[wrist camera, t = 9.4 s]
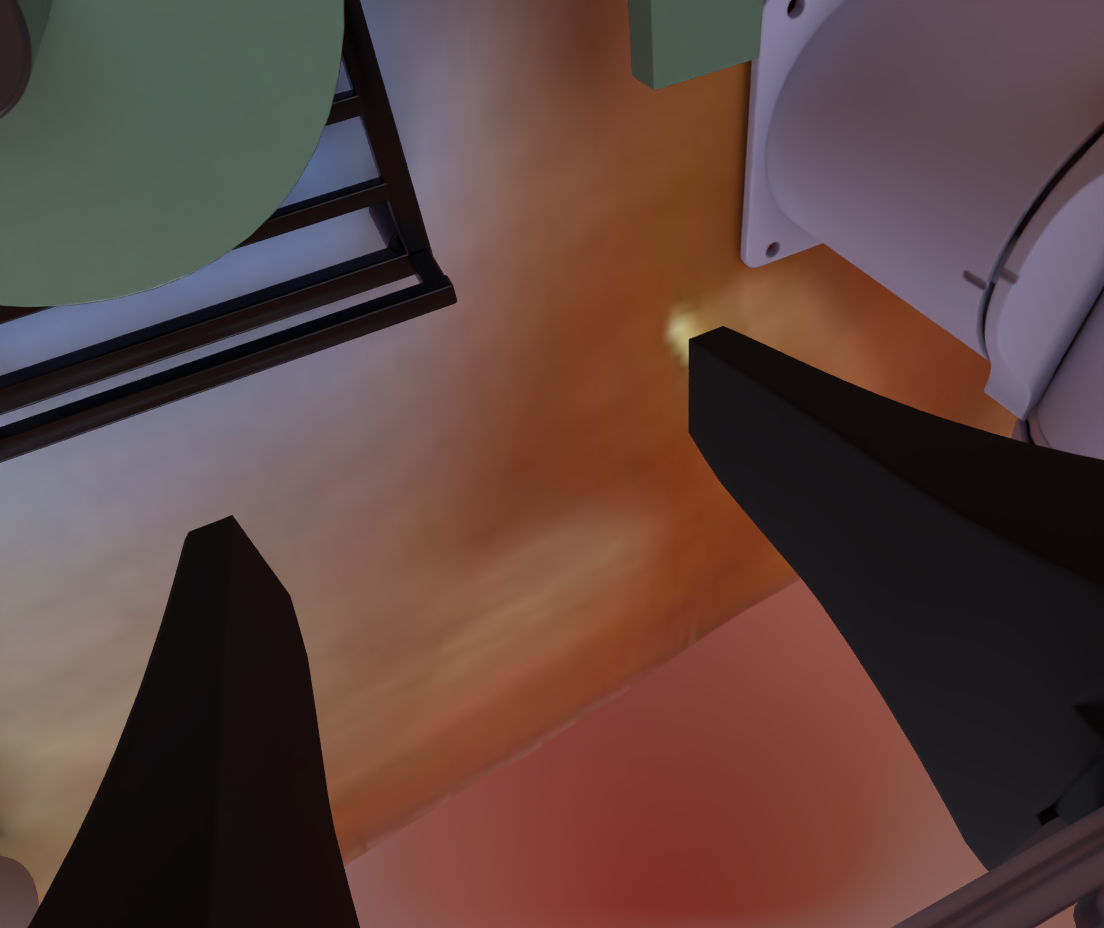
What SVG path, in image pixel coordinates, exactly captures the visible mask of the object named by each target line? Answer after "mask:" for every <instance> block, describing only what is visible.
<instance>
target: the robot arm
mask: <svg viewBox="0 0 1104 928" xmlns="http://www.w3.org/2000/svg"><path fill="white" fill-rule="evenodd" d="M790 1H791V0H763V9H762V24H761V40H760V55H759V57H758V58H756V59H753V60H752V66H751V83H750V100H749V117H748V134H747V151H746V168H745V185H744V202H743V220H742V237H741V254H740V255H741V260H742V261H743V262H744V263H745V264H746V265H747V266H749V267H751V268H756V267H760V266H762V265H765V264H768V263H771V262H773V261H776V260H779V259H781V258H784V257H787V256H790V255H792V254H795V253H798V252H800V251H803V250H806V249H808V248H811V247H814V246H817V245H819V244H822V243H824V244H825V245H827V246H828V247H830V248H831V249H832V250H834V251H835V252H837V253H838V254H839V255H841V256H842V257H844V258H845V259H846V260H848V261H849V262H851V263H852V264H853V265H855V266H856V267H858V268H859V269H860V270H862V271H863V272H865V273H866V274H867V275H869V276H870V277H872V278H873V279H874V280H876V281H877V282H879V283H880V284H881V285H883V286H884V287H886V288H887V289H888V290H890V291H891V292H893V293H894V294H895V295H897V296H898V297H900V298H901V299H903V300H904V301H905V302H907V303H908V304H910V305H911V306H912V307H914V308H915V309H917V310H918V311H919V312H921V313H922V314H924V315H925V316H926V317H928V318H929V319H931V320H932V321H933V322H935V323H936V324H938V325H939V326H940V327H942V328H943V329H945V330H946V331H947V332H949V333H950V334H952V335H953V336H954V337H956V338H957V339H959V340H960V341H961V342H963V343H964V344H966V345H967V346H969V347H970V348H971V349H973V350H974V351H976V352H977V353H978V354H980V355H981V356H983V357H984V358H985V359H987V360H988V361H990V362H991V372H990V376H989V379H988V381H987V384H986V386H985V389H984V392H985V393H986V394H988V395H989V396H990V397H992V398H993V399H994V400H996V401H997V402H998V403H1000V404H1001V405H1002V406H1003V407H1005V408H1006V409H1007V410H1009V411H1010V412H1011V413H1013V414H1014V415H1015V416H1017V417H1018V420H1017V421H1016V423H1015V426H1014V429H1013V433H1012V437H1011V438H1007V437H1004V436H1000V435H996V434H993V433H990V432H986V431H983V430H980V429H976V428H973V427H970V426H967V425H963V424H960V423H957V422H953V421H950V420H947V419H944V418H941V417H938V416H935V415H932V414H929V413H926V412H923V411H920V410H918V409H915V408H912V407H910V406H907V405H904V404H902V403H899V402H896V401H894V400H891V399H889V398H886V397H883V396H881V395H878V394H876V393H873V392H871V391H868V390H866V389H863V388H861V387H858V386H856V385H854V384H851V383H849V382H847V381H844V380H842V379H840V378H837V377H835V376H833V375H830V374H828V373H826V372H824V371H821V370H819V369H817V368H815V367H812V366H810V365H808V364H806V363H804V362H801V361H799V360H797V359H795V358H793V357H791V356H788V355H786V354H784V353H782V352H780V351H778V350H775V349H773V348H771V347H769V346H767V345H765V344H762V343H760V342H758V341H756V340H754V339H752V338H749V337H747V336H745V335H743V334H740V333H738V332H736V331H734V330H731V329H729V328H727V327H724V326H722V327H719V328H717V329H714V330H712V331H709V332H706V333H704V334H701V335H699V336H696V337H693V338H691V339H689V434H690V435H691V437H692V439H693V440H694V442H695V443H696V445H697V447H698V448H699V450H700V452H701V453H702V455H703V456H704V458H705V460H706V461H707V463H708V464H709V466H710V467H711V469H712V470H713V472H714V473H715V475H716V476H717V478H718V480H719V481H720V482H721V484H722V485H723V486H724V487H725V488H726V490H727V491H728V492H729V493H730V495H731V496H732V497H733V498H734V499H735V501H736V502H737V503H738V504H739V505H740V507H741V508H742V509H743V510H744V511H745V513H746V514H747V515H748V516H749V517H750V518H751V520H752V521H753V522H754V523H755V524H756V526H757V527H758V528H759V529H760V530H761V531H762V533H763V534H764V535H765V536H766V537H767V539H768V540H769V541H770V542H771V543H772V544H773V546H774V547H775V548H776V549H777V550H778V551H779V553H780V554H781V555H782V556H783V557H784V559H785V560H786V561H787V562H788V563H789V564H790V566H791V567H792V568H793V569H794V570H795V572H796V573H797V574H798V575H799V576H800V577H801V579H802V580H803V581H804V582H805V584H806V585H807V586H808V587H809V589H810V590H811V591H812V593H813V594H814V595H815V597H816V598H817V599H818V600H819V602H820V603H821V605H822V606H823V608H824V609H825V611H826V612H827V614H828V615H829V616H830V618H831V619H832V621H833V622H834V624H835V625H836V627H837V628H838V630H839V631H840V633H841V634H842V636H843V637H844V639H845V640H846V642H847V643H848V644H849V646H850V647H851V649H852V650H853V652H854V654H855V655H856V657H857V658H858V660H859V661H860V663H861V664H862V666H863V667H864V669H865V670H866V672H867V674H868V675H869V677H870V678H871V680H872V682H873V683H874V684H875V686H876V688H877V689H878V691H879V692H880V694H881V695H882V697H883V699H884V700H885V702H886V704H887V705H888V707H889V709H890V710H891V712H892V714H893V715H894V717H895V719H896V720H897V722H898V724H899V725H900V727H901V729H902V730H903V732H904V734H905V735H906V737H907V738H908V740H909V742H910V743H911V745H912V747H913V748H914V750H915V752H916V753H917V755H918V757H919V759H920V760H921V762H922V764H923V766H924V768H925V769H926V771H927V773H928V775H929V777H930V778H931V780H932V782H933V784H934V785H935V787H936V789H937V791H938V793H939V794H940V796H941V798H942V800H943V801H944V803H945V805H946V807H947V808H948V810H949V812H950V814H951V816H952V818H953V820H954V822H955V823H956V825H957V827H958V829H959V831H960V833H961V835H962V837H963V839H964V841H965V842H966V843H967V845H968V846H969V847H970V849H971V850H972V851H973V853H974V854H975V855H976V856H977V858H978V859H979V860H980V862H981V863H982V864H983V866H984V867H985V868H986V869H987V870H988V871H989V872H988V873H986V874H984V875H982V876H981V877H979V878H977V879H975V880H974V881H972V882H970V883H968V884H967V885H965V886H963V887H961V888H960V889H958V890H956V891H954V892H953V893H951V894H949V895H947V896H946V897H944V898H942V899H941V900H939V901H937V902H935V903H934V904H932V905H930V906H929V907H927V908H925V909H923V910H921V911H920V912H918V913H916V914H914V915H913V916H911V917H909V918H907V919H906V920H904V921H902V922H900V923H899V924H897V925H895V926H893V927H892V928H1035V927H1037V926H1039V925H1040V924H1042V923H1044V922H1045V921H1047V920H1049V919H1050V918H1052V917H1054V916H1055V915H1057V914H1058V913H1060V912H1062V911H1063V910H1065V909H1067V908H1068V907H1070V906H1072V905H1074V904H1075V903H1077V902H1078V903H1077V905H1075V908H1074V915H1073V916H1074V921H1075V924H1076V928H1104V0H796V2H795V6H794V8H793V9H792V11H791V12H790V13H788V12H787V8H788V5H789V2H790ZM772 243H773V244H772ZM770 244H772V246H771V247H770V249H769V250H767V248H768V247H769V245H770ZM28 928H360V926H359V922H358V919H357V915H356V911H355V907H354V904H353V900H352V896H351V893H350V889H349V885H348V881H347V877H346V873H345V869H344V865H343V861H342V857H341V853H340V849H339V845H338V841H337V838H336V834H335V830H334V825H333V819H332V814H331V809H330V804H329V798H328V792H327V785H326V778H325V771H324V764H323V757H322V750H321V743H320V736H319V729H318V722H317V716H316V709H315V702H314V695H313V689H312V682H311V675H310V669H309V663H308V657H307V653H306V649H305V646H304V642H303V638H302V635H301V631H300V627H299V624H298V620H297V617H296V614H295V610H294V607H293V603H292V600H291V596H290V595H289V593H288V592H287V590H286V589H285V588H284V586H283V585H282V583H281V582H280V581H279V579H278V578H277V576H276V575H275V574H274V572H273V571H272V570H271V568H270V567H269V565H268V564H267V563H266V561H265V560H264V558H263V557H262V556H261V554H260V553H259V551H258V550H257V549H256V547H255V546H254V545H253V543H252V542H251V540H250V539H249V538H248V536H247V535H246V533H245V532H244V531H243V529H242V528H241V526H240V525H239V524H238V522H237V521H236V519H235V518H234V517H233V515H231V516H229V517H226V518H224V519H221V520H218V521H216V522H213V523H211V524H208V525H205V526H203V527H200V528H198V529H195V530H192V531H190V532H189V533H188V535H187V537H186V539H185V541H184V545H183V548H182V552H181V556H180V559H179V563H178V567H177V570H176V574H175V578H174V581H173V585H172V588H171V592H170V595H169V599H168V602H167V606H166V609H165V612H164V616H163V619H162V622H161V626H160V629H159V632H158V635H157V638H156V641H155V644H154V647H153V650H152V653H151V656H150V659H149V662H148V665H147V668H146V671H145V674H144V677H143V680H142V683H141V686H140V688H139V691H138V694H137V696H136V699H135V701H134V704H133V707H132V709H131V712H130V714H129V717H128V720H127V722H126V725H125V727H124V730H123V732H122V735H121V738H120V740H119V743H118V745H117V748H116V750H115V753H114V755H113V757H112V760H111V762H110V764H109V767H108V769H107V771H106V774H105V776H104V778H103V781H102V783H101V785H100V787H99V789H98V792H97V794H96V796H95V798H94V800H93V802H92V805H91V807H90V809H89V811H88V813H87V815H86V817H85V819H84V821H83V823H82V825H81V828H80V830H79V832H78V834H77V836H76V838H75V840H74V842H73V844H72V846H71V848H70V850H69V851H68V853H67V855H66V857H65V859H64V861H63V863H62V865H61V867H60V869H59V870H58V872H57V874H56V876H55V878H54V880H53V882H52V884H51V886H50V887H49V889H48V891H47V893H46V895H45V897H44V899H43V901H42V903H41V904H40V906H39V908H38V910H37V912H36V913H35V915H34V917H33V919H32V921H31V922H30V924H29V926H28Z"/></svg>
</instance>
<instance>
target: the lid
mask: <svg viewBox="0 0 1104 928" xmlns="http://www.w3.org/2000/svg"><path fill="white" fill-rule="evenodd" d="M343 36H344V0H0V305H3V306H20V307H40V306H66V305H78V304H85V303H92V302H99V301H106V300H113V299H117V298H121V297H125V296H129V295H133V294H137V293H140V292H144V291H148V290H152V289H155V288H157V287H160V286H163V285H165V284H168V283H170V282H173V281H175V280H178V279H180V278H183V277H186V276H188V275H190V274H192V273H194V272H195V271H197V270H199V269H201V268H203V267H205V266H206V265H208V264H210V263H212V262H214V261H216V260H217V259H219V258H221V257H222V256H224V255H225V254H226V253H228V252H229V251H230V250H232V249H233V248H234V247H236V246H237V245H239V244H240V243H241V242H243V241H244V240H245V239H247V238H248V237H249V236H251V235H252V234H253V233H254V232H255V231H256V230H257V229H258V228H259V227H260V226H261V225H262V224H263V223H264V222H265V221H266V220H267V219H268V218H269V217H270V216H271V215H272V214H273V213H274V212H275V211H276V210H277V208H278V207H279V206H280V204H281V203H282V202H283V201H284V199H285V198H286V197H287V195H288V194H289V193H290V191H291V190H292V189H293V187H294V186H295V185H296V184H297V182H298V180H299V179H300V177H301V175H302V173H303V171H304V170H305V168H306V166H307V164H308V163H309V161H310V159H311V157H312V155H313V154H314V152H315V150H316V148H317V145H318V142H319V140H320V137H321V135H322V132H323V130H324V127H325V124H326V122H327V119H328V117H329V114H330V110H331V106H332V102H333V98H334V94H335V90H336V85H337V81H338V77H339V72H340V63H341V54H342V45H343Z"/></svg>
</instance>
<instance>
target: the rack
mask: <svg viewBox="0 0 1104 928" xmlns="http://www.w3.org/2000/svg"><path fill="white" fill-rule="evenodd" d="M341 59H342V62H343V66H344V69H345V72H346V75H347V78H348V81H349V84H350V88H351V90H349V91H345V92H342V93H338V94H335V95H334V98H333V102H332V106H331V110H330V114H329V117H328V119H327V122H326V124H325V126H327V125H330V124H334V123H337V122H341V121H344V120H347V119H351V118H354V117H357V116H360V119H361V122H362V125H363V128H364V131H365V135H366V138H367V141H368V144H369V147H370V150H371V153H372V157H373V160H374V163H375V166H376V169H377V172H378V175H379V177H378V178H375V179H371V180H368V181H365V182H362V183H359V184H355V185H352V186H349V187H346V188H343V189H339V190H336V191H333V192H330V193H327V194H323V195H320V196H317V197H314V198H311V199H308V200H304V201H301V202H298V203H295V204H292V205H288V206H285V207H282V208H279V209H277V210H276V211H275V212H274V213H273V214H272V215H271V216H270V217H269V218H268V219H267V220H266V221H265V222H264V223H263V224H262V225H261V226H260V227H259V228H258V229H257V230H256V231H255V232H254V233H253V234H252V235H251V236H249V237H248V238H247V239H245V240H244V241H243V242H241V243H240V244H239V245H237V246H236V247H234V248H233V249H232V250H234V249H237V248H240V247H243V246H246V245H249V244H253V243H256V242H259V241H262V240H265V239H268V238H271V237H274V236H278V235H281V234H284V233H287V232H290V231H293V230H296V229H299V228H303V227H306V226H309V225H312V224H315V223H318V222H321V221H324V220H328V219H331V218H334V217H337V216H340V215H343V214H346V213H349V212H353V211H356V210H359V209H362V208H365V207H368V206H369V213H370V215H371V217H372V219H373V221H374V223H375V225H376V227H377V229H378V231H379V233H380V235H381V237H382V239H383V241H384V243H385V245H386V247H387V248H385V249H382V250H379V251H376V252H373V253H370V254H367V255H364V256H361V257H358V258H355V259H352V260H349V261H346V262H343V263H340V264H337V265H334V266H331V267H328V268H325V269H322V270H319V271H316V272H313V273H309V274H306V275H303V276H300V277H297V278H294V279H291V280H288V281H285V282H282V283H279V284H276V285H273V286H270V287H267V288H264V289H261V290H258V291H255V292H252V293H249V294H246V295H243V296H240V297H237V298H234V299H231V300H228V301H225V302H222V303H219V304H216V305H213V306H210V307H207V308H204V309H201V310H198V311H195V312H192V313H189V314H186V315H183V316H180V317H177V318H174V319H171V320H168V321H165V322H162V323H158V324H155V325H152V326H149V327H146V328H143V329H140V330H137V331H134V332H131V333H128V334H125V335H122V336H119V337H116V338H113V339H110V340H107V341H104V342H101V343H98V344H95V345H92V346H89V347H86V348H83V349H80V350H77V351H74V352H71V353H68V354H65V355H62V356H59V357H56V358H53V359H50V360H47V361H44V362H41V363H38V364H35V365H32V366H29V367H26V368H23V369H20V370H17V371H14V372H11V373H7V374H4V375H1V376H0V415H3V414H6V413H8V412H11V411H14V410H17V409H20V408H23V407H26V406H29V405H32V404H35V403H38V402H41V401H44V400H47V399H50V398H53V397H56V396H58V395H61V394H64V393H67V392H70V391H73V390H76V389H79V388H82V387H85V386H88V385H91V384H94V383H97V382H100V381H103V380H106V379H109V378H111V377H114V376H117V375H120V374H123V373H126V372H129V371H132V370H135V369H138V368H141V367H144V366H147V365H150V364H153V363H156V362H159V361H162V360H164V359H167V358H170V357H173V356H176V355H179V354H182V353H185V352H188V351H191V350H194V349H197V348H200V347H203V346H206V345H209V344H212V343H214V342H217V341H220V340H223V339H226V338H229V337H232V336H235V335H238V334H241V333H244V332H247V331H250V330H253V329H256V328H259V327H262V326H265V325H267V324H270V323H273V322H276V321H279V320H282V319H285V318H288V317H291V316H294V315H297V314H300V313H303V312H306V311H309V310H312V309H315V308H317V307H320V306H323V305H326V304H329V303H332V302H335V301H338V300H341V299H344V298H347V297H350V296H353V295H356V294H359V293H362V292H365V291H368V290H370V289H373V288H376V287H379V286H382V285H385V284H388V283H391V282H394V281H397V280H400V279H403V278H406V277H409V276H412V275H416V277H417V279H418V281H419V282H420V284H417V285H414V286H411V287H408V288H406V289H403V290H400V291H397V292H394V293H391V294H388V295H385V296H382V297H379V298H376V299H373V300H371V301H368V302H365V303H362V304H359V305H356V306H353V307H350V308H347V309H344V310H341V311H338V312H335V313H333V314H330V315H327V316H324V317H321V318H318V319H315V320H312V321H309V322H306V323H303V324H300V325H297V326H295V327H292V328H289V329H286V330H283V331H280V332H277V333H274V334H271V335H268V336H265V337H262V338H260V339H257V340H254V341H251V342H248V343H245V344H242V345H239V346H236V347H233V348H230V349H227V350H224V351H222V352H219V353H216V354H213V355H210V356H207V357H204V358H201V359H198V360H195V361H192V362H189V363H187V364H184V365H181V366H178V367H175V368H172V369H169V370H166V371H163V372H160V373H157V374H154V375H151V376H149V377H146V378H143V379H140V380H137V381H134V382H131V383H128V384H125V385H122V386H119V387H116V388H114V389H111V390H108V391H105V392H102V393H99V394H96V395H93V396H90V397H87V398H84V399H81V400H78V401H76V402H73V403H70V404H67V405H64V406H61V407H58V408H55V409H52V410H49V411H46V412H43V413H40V414H38V415H35V416H32V417H29V418H26V419H23V420H20V421H17V422H14V423H11V424H8V425H5V426H3V427H0V463H1V462H4V461H7V460H10V459H12V458H15V457H18V456H21V455H24V454H27V453H30V452H32V451H35V450H38V449H41V448H44V447H47V446H50V445H52V444H55V443H58V442H61V441H64V440H67V439H70V438H72V437H75V436H78V435H81V434H84V433H87V432H90V431H92V430H95V429H98V428H101V427H104V426H107V425H110V424H112V423H115V422H118V421H121V420H124V419H127V418H130V417H132V416H135V415H138V414H141V413H144V412H147V411H150V410H152V409H155V408H158V407H161V406H164V405H167V404H169V403H172V402H175V401H178V400H181V399H184V398H187V397H189V396H192V395H195V394H198V393H201V392H204V391H207V390H209V389H212V388H215V387H218V386H221V385H224V384H227V383H229V382H232V381H235V380H238V379H241V378H244V377H247V376H249V375H252V374H255V373H258V372H261V371H264V370H267V369H269V368H272V367H275V366H278V365H281V364H284V363H287V362H289V361H292V360H295V359H298V358H301V357H304V356H307V355H309V354H312V353H315V352H318V351H321V350H324V349H327V348H329V347H332V346H335V345H338V344H341V343H344V342H347V341H349V340H352V339H355V338H358V337H361V336H364V335H367V334H369V333H372V332H375V331H378V330H381V329H384V328H387V327H389V326H392V325H395V324H398V323H401V322H404V321H407V320H409V319H412V318H415V317H418V316H421V315H424V314H426V313H429V312H432V311H435V310H438V309H441V308H444V307H446V306H449V305H452V304H455V303H457V298H456V294H455V290H454V287H453V284H452V283H451V281H450V279H449V278H448V276H447V275H444V274H443V272H442V270H441V269H440V267H439V265H438V264H437V262H436V260H435V258H434V257H433V254H432V250H431V247H430V243H429V240H428V236H427V233H426V229H425V226H424V222H423V219H422V215H421V212H420V208H419V205H418V201H417V198H416V194H415V191H414V187H413V184H412V180H411V177H410V173H409V170H408V166H407V163H406V159H405V156H404V152H403V149H402V145H401V142H400V138H399V135H398V131H397V128H396V125H395V121H394V118H393V114H392V111H391V107H390V104H389V100H388V97H387V93H386V90H385V86H384V83H383V79H382V76H381V72H380V69H379V65H378V62H377V58H376V55H375V51H374V48H373V44H372V41H371V37H370V34H369V30H368V27H367V23H366V20H365V16H364V13H363V9H362V6H361V2H360V0H344V36H343V45H342V54H341ZM230 251H231V250H230ZM52 307H55V306H40V307H20V306H3V305H0V324H2V323H5V322H9V321H12V320H15V319H18V318H21V317H24V316H27V315H30V314H34V313H37V312H40V311H43V310H46V309H49V308H52Z"/></svg>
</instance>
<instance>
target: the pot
mask: <svg viewBox="0 0 1104 928" xmlns="http://www.w3.org/2000/svg"><path fill="white" fill-rule="evenodd" d="M628 6H629V25H630V44H631V64H632V75H633V77H635V78H636V79H638V80H639V81H641V82H642V83H644V84H645V85H647V86H648V87H650V88H651V89H653V90H658V89H661V88H664V87H667V86H670V85H673V84H677V83H680V82H683V81H686V80H689V79H693V78H696V77H699V76H702V75H705V74H709V73H712V72H715V71H718V70H721V69H725V68H728V67H731V66H734V65H737V64H740V63H744V62H747V61H750V60H753V59H756V58H758V57H759V55H760V40H761V24H762V9H763V0H628Z"/></svg>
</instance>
